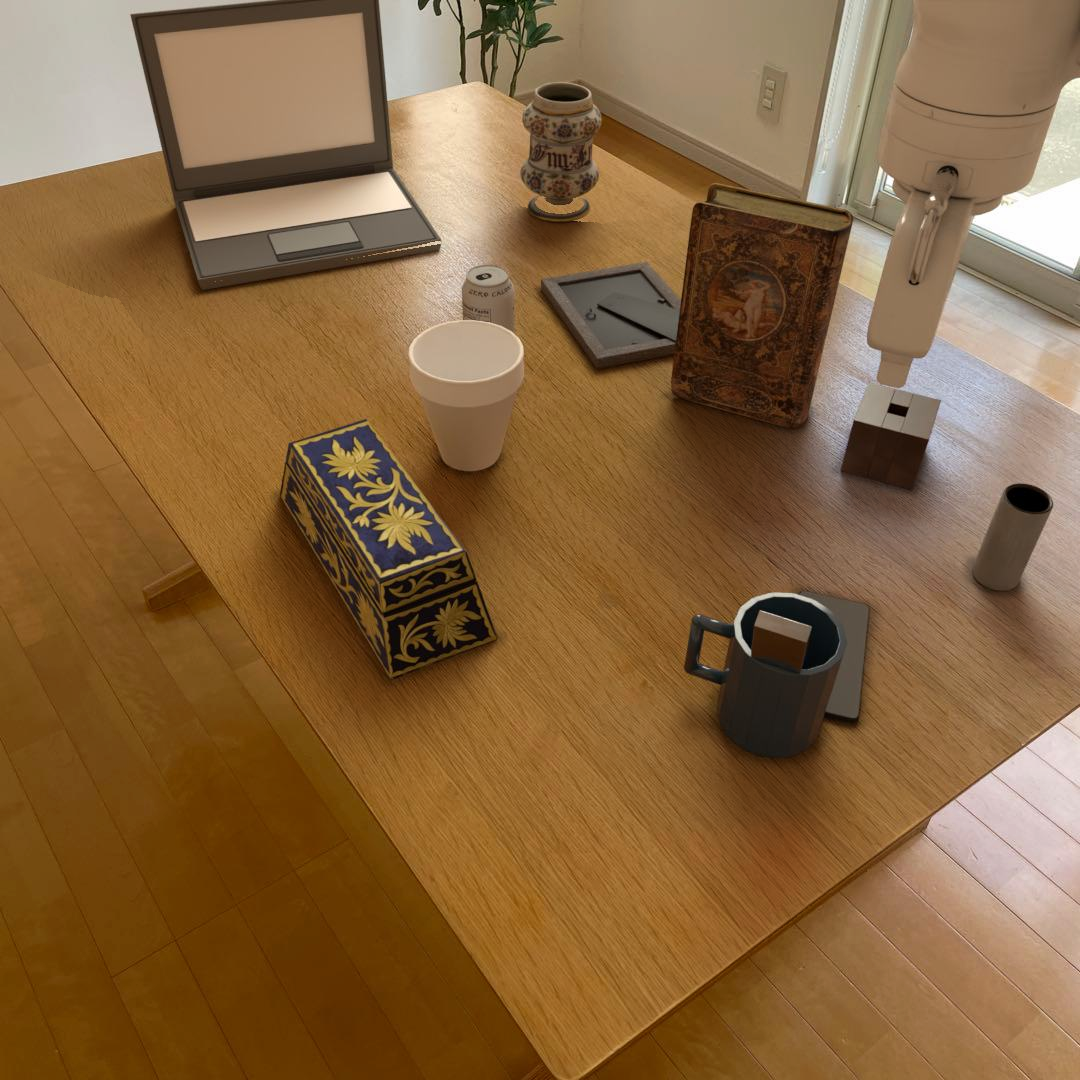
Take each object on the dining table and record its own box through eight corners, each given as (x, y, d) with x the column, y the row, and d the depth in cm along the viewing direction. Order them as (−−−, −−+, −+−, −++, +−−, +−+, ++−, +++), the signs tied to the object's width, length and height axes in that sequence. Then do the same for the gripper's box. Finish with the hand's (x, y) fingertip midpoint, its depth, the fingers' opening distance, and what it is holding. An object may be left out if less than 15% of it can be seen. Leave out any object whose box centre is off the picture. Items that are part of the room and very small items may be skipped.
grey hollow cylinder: (975, 554, 108) (1006, 477, 101) (1021, 568, 107) (1056, 491, 100) (968, 582, 105) (999, 504, 98) (1015, 597, 104) (1050, 519, 97)
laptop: (200, 290, 145) (151, 79, 126) (175, 206, 164) (129, 12, 145) (441, 249, 155) (430, 48, 136) (392, 175, 174) (376, -12, 154)
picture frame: (711, 347, 137) (646, 271, 151) (713, 333, 135) (647, 258, 150) (596, 369, 132) (541, 289, 147) (597, 355, 131) (541, 276, 146)
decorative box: (371, 464, 118) (362, 398, 112) (497, 639, 99) (496, 571, 93) (279, 494, 114) (265, 427, 108) (392, 682, 95) (383, 614, 89)
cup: (420, 491, 115) (411, 387, 105) (412, 424, 123) (403, 323, 114) (531, 481, 116) (532, 378, 107) (516, 416, 125) (515, 315, 116)
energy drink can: (523, 389, 129) (523, 279, 119) (480, 404, 127) (477, 293, 116) (499, 366, 133) (497, 257, 123) (457, 379, 130) (451, 270, 120)
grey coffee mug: (830, 696, 95) (857, 612, 87) (805, 772, 89) (832, 689, 81) (696, 651, 98) (711, 566, 91) (664, 721, 92) (677, 637, 85)
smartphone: (870, 604, 103) (859, 720, 92) (868, 610, 103) (856, 727, 92) (799, 588, 104) (779, 701, 93) (797, 594, 105) (778, 708, 94)
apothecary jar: (612, 208, 166) (620, 91, 153) (561, 233, 159) (564, 113, 147) (556, 185, 172) (559, 70, 159) (504, 208, 165) (503, 91, 153)
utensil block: (924, 449, 121) (941, 399, 116) (912, 490, 116) (929, 439, 111) (855, 431, 124) (869, 382, 119) (840, 470, 118) (853, 420, 113)
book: (812, 407, 127) (858, 212, 110) (800, 432, 123) (845, 233, 106) (684, 373, 132) (708, 181, 115) (669, 395, 128) (692, 201, 111)
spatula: (793, 711, 92) (812, 626, 78) (789, 725, 92) (806, 642, 77) (749, 696, 93) (759, 609, 79) (744, 709, 93) (753, 625, 79)
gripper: (996, 223, 53) (927, 442, 62) (1035, 88, 67) (973, 284, 76) (870, 200, 55) (821, 416, 64) (933, 74, 69) (885, 267, 78)
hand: (904, 344), depth 70 cm, fingers open, 8 cm apart
